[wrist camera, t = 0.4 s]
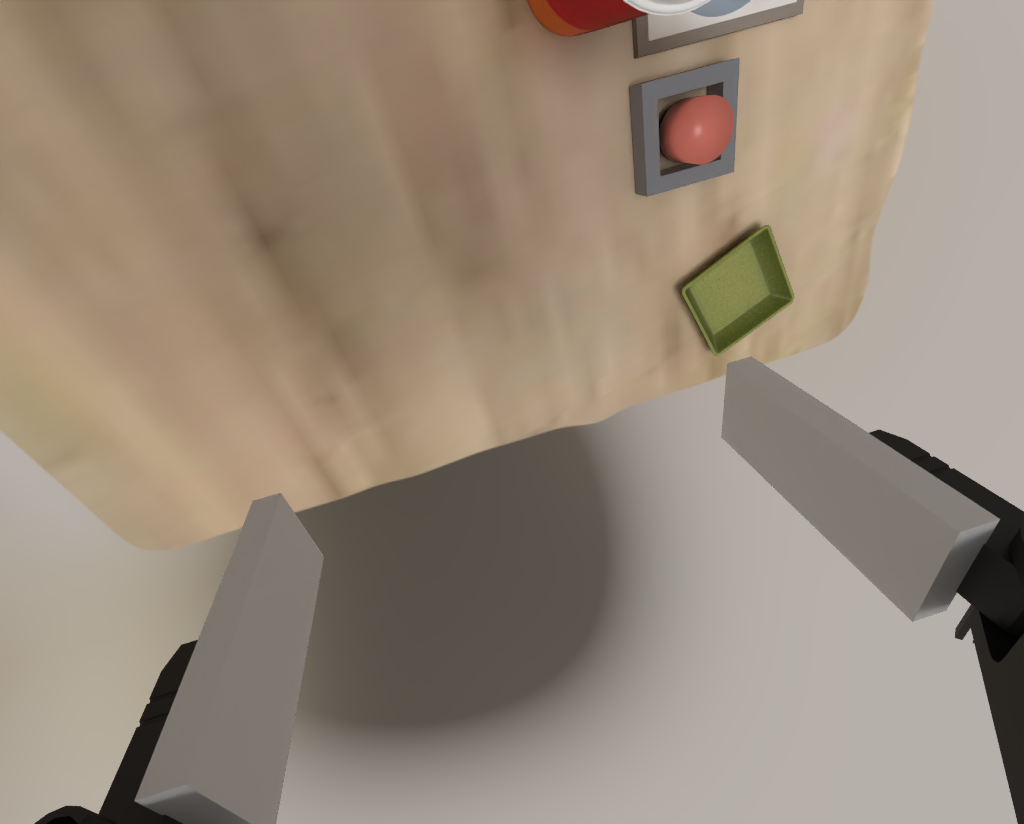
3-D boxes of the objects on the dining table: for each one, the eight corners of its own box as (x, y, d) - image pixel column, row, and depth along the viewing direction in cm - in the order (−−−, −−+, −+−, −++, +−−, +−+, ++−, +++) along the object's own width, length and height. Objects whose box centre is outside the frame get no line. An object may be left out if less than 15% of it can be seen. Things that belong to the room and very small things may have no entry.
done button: (658, 105, 32) (678, 103, 29) (711, 90, 32) (735, 87, 30) (660, 168, 34) (679, 171, 32) (709, 154, 34) (732, 156, 32)
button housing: (629, 86, 32) (641, 84, 30) (722, 61, 32) (739, 57, 31) (635, 193, 36) (647, 196, 34) (718, 169, 36) (733, 171, 34)
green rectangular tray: (781, 294, 44) (796, 300, 42) (704, 349, 45) (716, 358, 44) (753, 218, 39) (769, 222, 38) (668, 283, 41) (680, 290, 39)
